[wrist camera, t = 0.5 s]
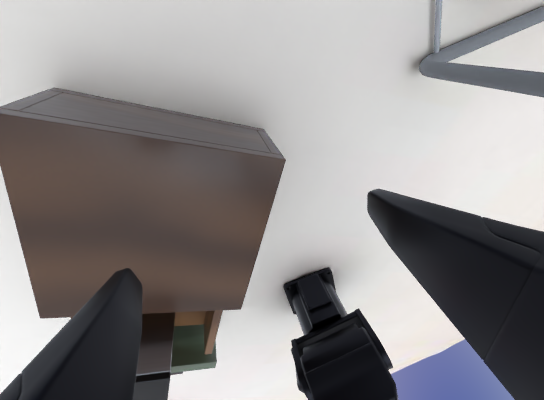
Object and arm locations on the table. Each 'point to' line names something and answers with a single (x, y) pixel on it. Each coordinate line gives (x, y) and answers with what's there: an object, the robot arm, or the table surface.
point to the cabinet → (135, 200)
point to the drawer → (194, 340)
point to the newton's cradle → (483, 75)
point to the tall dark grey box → (154, 357)
